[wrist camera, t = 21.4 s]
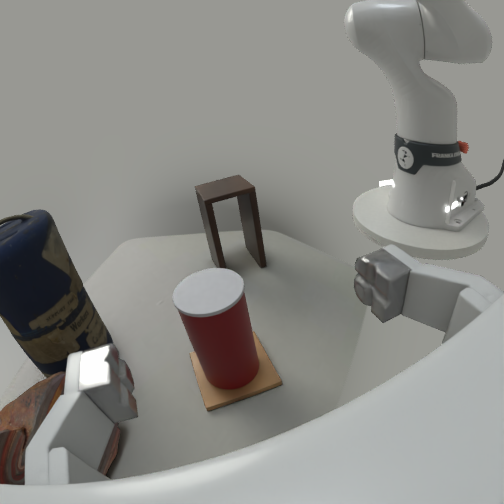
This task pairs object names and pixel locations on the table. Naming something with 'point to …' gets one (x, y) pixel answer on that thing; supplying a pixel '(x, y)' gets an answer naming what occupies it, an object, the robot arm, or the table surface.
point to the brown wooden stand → (248, 214)
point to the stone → (35, 428)
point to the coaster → (222, 397)
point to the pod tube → (218, 326)
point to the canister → (44, 294)
